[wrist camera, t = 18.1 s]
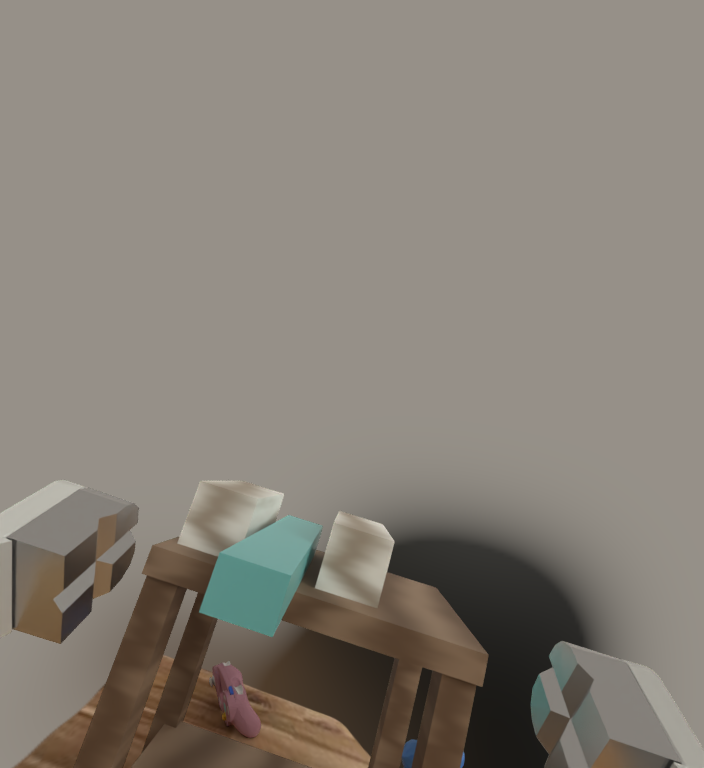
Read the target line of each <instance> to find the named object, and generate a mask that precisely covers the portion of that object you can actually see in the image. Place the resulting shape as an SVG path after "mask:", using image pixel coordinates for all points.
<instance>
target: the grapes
mask: <svg viewBox="0 0 704 768" xmlns="http://www.w3.org/2000/svg"><path fill="white" fill-rule="evenodd" d="M416 744H417V740H410V741H408V742H406V744H405V746H404V749H403V753H402V763H403V765H404V767H405V768H411V767H412V763H413V758H414V754H415V749H416ZM463 765H464V752H463V755H462V760H461V765H460V768H462V766H463Z"/></svg>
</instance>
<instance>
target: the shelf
mask: <svg viewBox="0 0 704 768" xmlns="http://www.w3.org/2000/svg"><path fill="white" fill-rule="evenodd" d="M283 497H284V494H283V493H280V492H277V491H273V490H270V489H267V488H264V487H260V486H257V485H254V484H251V483H248V482H245V481H200V483H199V486H198V489H197V492H196V494H195V497H194V500H193V502H192V505H191V508H190V510H189V513H188V516H187V519H186V521H185V524H184V526H183V529H182V532H181V535H180V537H176V538H173V539H171V540H167V541H164V542H161V543H158V544H155V545H153V546H152V548H151V551H150V553H149V556H148V559H147V561H146V564H145V566H144V569H143V572H142V574H145V575H147V577H146V579H145V582H144V585H143V588H142V590H141V593H140V595H139V598H138V600H137V603H136V606H135V608H134V611H133V614H132V617H131V619H130V621H129V624H128V627H127V629H126V632H125V635H124V637H123V640H122V643H121V645H120V648H119V650H118V653H117V655H116V658H115V661H114V663H113V666H112V669H111V671H110V674H109V677H108V679H107V682H106V684H105V687H104V690H103V692H102V695H101V697H100V700H99V703H98V705H97V708H96V711H95V713H94V716H93V718H92V721H91V724H90V726H89V729H88V731H87V734H86V737H85V739H84V742H83V745H82V747H81V750H80V752H79V755H78V758H77V760H76V763H75V766H74V768H123V766H124V763H125V760H126V757H127V754H128V752H129V749H130V746H131V743H132V740H133V738H134V735H135V732H136V729H137V726H138V724H139V721H140V718H141V715H142V712H143V710H144V707H145V704H146V701H147V699H148V696H149V693H150V690H151V687H152V685H153V682H154V679H155V676H156V673H157V671H158V668H159V665H160V662H161V659H162V657H163V654H164V651H165V648H166V645H167V643H168V640H169V637H170V634H171V631H172V629H173V626H174V623H175V620H176V618H177V615H178V612H179V609H180V606H181V603H182V601H183V598H184V595H185V592H186V590H187V589H190V590H193V591H196V592H198V594H197V597H196V600H195V603H194V606H193V608H192V612H191V614H190V617H189V620H188V623H187V625H186V628H185V631H184V634H183V637H182V640H181V642H180V646H179V648H178V651H177V654H176V657H175V660H174V662H173V665H172V668H171V671H170V674H169V677H168V679H167V682H166V685H165V688H164V691H163V694H162V697H161V699H160V702H159V705H158V708H157V711H156V714H155V716H154V719H153V722H152V725H151V728H150V731H149V734H148V736H147V739H146V742H145V745H144V748H143V751H142V753H141V755H140V756H139V758H138V759H137V760H136V761H135V763H134V764H133V765H132V767H131V768H311V767H308V766H306V765H303V764H300V763H297V762H294V761H292V760H289V759H286V758H283V757H280V756H278V755H275V754H272V753H269V752H266V751H264V750H261V749H258V748H255V747H252V746H250V745H247V744H244V743H241V742H238V741H235V740H233V739H230V738H227V737H224V736H221V735H219V734H216V733H213V732H210V731H207V730H205V729H202V728H199V727H196V726H193V725H191V724H188V723H185V722H183V720H184V717H185V714H186V711H187V708H188V705H189V703H190V700H191V697H192V694H193V691H194V688H195V685H196V682H197V679H198V676H199V673H200V670H201V666H202V664H203V661H204V658H205V655H206V652H207V649H208V646H209V643H210V640H211V637H212V634H213V631H214V628H215V625H216V622H217V618H214V617H211V616H208V615H205V614H202V613H199V610H200V608H201V605H202V602H203V599H204V596H205V593H206V590H207V587H208V585H209V582H210V579H211V576H212V573H213V570H214V567H215V564H216V561H217V559H218V556H219V553H220V552H221V551H223V550H225V549H227V548H229V547H231V546H232V545H234V544H236V543H238V542H240V541H242V540H244V539H245V538H247V537H249V536H251V535H253V534H255V533H256V532H258V531H260V530H262V529H264V528H266V527H268V526H269V525H271V524H273V523H275V522H276V519H277V516H278V512H279V509H280V506H281V503H282V500H283ZM393 545H394V540H393V539H392V537H391V536H390V534H389V533H388V531H387V530H386V528H385V527H384V526H383V525H382V524H380V523H377V522H373V521H370V520H367V519H364V518H361V517H357V516H354V515H351V514H348V513H344V512H341V511H339V513H338V515H337V517H336V519H335V521H334V524H333V528H332V531H331V534H330V538H329V542H328V545H327V548H326V552H322V551H318V550H316V552H315V555H314V557H313V559H312V561H311V563H310V565H309V567H308V569H307V570H306V572H305V574H304V576H303V578H302V580H301V582H300V584H299V586H298V588H297V590H296V592H295V594H294V596H293V598H292V600H291V602H290V604H289V606H288V608H287V610H286V612H285V614H284V616H283V617H282V619H281V620H283V621H286V622H289V623H292V624H295V625H298V626H301V627H304V628H307V629H310V630H313V631H316V632H319V633H322V634H325V635H328V636H331V637H334V638H337V639H340V640H343V641H346V642H349V643H352V644H355V645H358V646H361V647H364V648H367V649H370V650H373V651H376V652H379V653H382V654H385V655H388V656H391V657H394V658H395V659H394V663H393V668H392V672H391V676H390V680H389V684H388V688H387V692H386V697H385V701H384V705H383V709H382V713H381V717H380V722H379V726H378V730H377V734H376V738H375V742H374V746H373V751H372V755H371V759H370V763H369V767H368V768H399V767H400V762H401V758H402V753H403V749H404V745H405V740H406V735H407V730H408V727H409V722H410V718H411V714H412V709H413V704H414V700H415V696H416V691H417V687H418V682H419V678H420V674H421V669H422V667H424V668H427V669H430V670H433V672H432V677H431V681H430V686H429V690H428V695H427V699H426V704H425V708H424V713H423V717H422V722H421V727H420V731H419V735H418V740H417V744H416V749H415V754H414V758H413V763H412V767H411V768H460V765H461V760H462V755H463V750H464V745H465V740H466V735H467V730H468V725H469V720H470V715H471V709H472V704H473V700H474V695H475V689H476V685H478V686H483V681H484V675H485V671H486V666H487V660H488V654H487V653H486V651H485V650H484V649H483V647H482V646H481V645H480V643H479V642H478V641H477V640H476V638H475V637H474V636H473V635H472V633H471V632H470V631H469V629H468V628H467V627H466V625H465V624H464V623H463V622H462V620H461V619H460V618H459V616H458V615H457V614H456V613H455V611H454V610H453V609H452V608H451V606H450V605H449V604H448V602H447V601H446V600H445V599H444V597H443V596H442V595H441V593H440V592H439V591H438V590H437V588H435V587H432V586H428V585H425V584H422V583H419V582H416V581H413V580H410V579H406V578H403V577H400V576H397V575H394V574H391V573H387V569H388V565H389V561H390V557H391V553H392V549H393Z"/></svg>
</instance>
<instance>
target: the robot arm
mask: <svg viewBox="0 0 704 768" xmlns="http://www.w3.org/2000/svg"><path fill="white" fill-rule="evenodd" d="M138 510H139V508H138V507H137V506H136V505H135V504H134V503H131V502H128V501H126V500H123V499H120V498H117V497H114V496H111V495H108V494H106V493H103V492H100V491H97V490H94V489H91V488H86V487H84V486H81V485H78V484H75V483H73V482H70V481H67V480H60V481H55V482H53V483H51V484H49V485H48V486H46V487H44V488H43V489H41V490H39V491H38V492H36V493H34V494H32V495H31V496H29V497H27V498H25V499H24V500H22V501H20V502H19V503H17V504H15V505H13V506H12V507H10V508H8V509H7V510H5V511H3V512H2V513H0V638H1V637H3V636H5V635H7V634H9V633H11V632H12V629H14V630H18V631H21V632H24V633H27V634H30V635H33V636H37V637H40V638H43V639H46V640H49V641H53V642H56V643H59V644H61V643H62V642H63V641H64V640H65V639H66V638H67V636H69V635H70V634H71V632H72V631H73V630H74V629H75V628H76V627H77V626H78V625H79V624H80V623H81V622H82V621H83V620H84V619H85V618H86V617H87V616H88V615H89V614H90V612H91V610H92V600H93V599H94V598H96V597H98V596H101V595H104V594H106V593H108V592H110V591H111V590H112V589H113V588H114V587H115V586H116V585H117V583H118V582H119V581H120V580H121V579H122V577H123V575H124V574H125V572H126V570H127V569H128V567H129V565H130V563H131V560H132V557H133V554H134V551H135V542H136V541H135V539H134V537H133V535H132V534H131V532H130V529H131V528H132V527H133V526H135V525H136V524H137V523H138ZM549 657H550V660H551V663H552V667H553V668H551V669H549V670H547V671H544V672H542V673H540V674H539V676H538V678H537V680H536V682H535V684H534V686H533V690H532V699H531V714H532V721H533V725H534V730H535V734H536V737H537V738H538V739H539V741H540V742H541V744H542V745H543V746H544V747H545V749H546V750H547V752H548V753H549V757H548V759H547V762H546V764H545V768H704V749H703V747H702V746H701V744H700V742H699V741H698V739H697V737H696V736H695V734H694V733H693V731H692V729H691V728H690V726H689V724H688V723H687V721H686V720H685V718H684V716H683V715H682V713H681V711H680V710H679V708H678V707H677V705H676V703H675V702H674V700H673V698H672V697H671V695H670V693H669V692H668V690H667V689H666V687H665V685H664V684H663V682H662V680H661V679H660V677H659V676H658V675H657V674H656V673H655V672H654V671H653V670H652V669H651V668H649V667H646V666H643V665H640V664H636V663H633V662H630V661H626V660H623V659H617V658H614V657H611V656H608V655H605V654H602V653H599V652H596V651H592V650H589V649H586V648H583V647H579V646H576V645H573V644H570V643H567V642H563V641H561V642H559V643H558V644H556V645H555V646H554V648H553V650H552V652H551V653H550V655H549Z"/></svg>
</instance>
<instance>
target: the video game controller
mask: <svg viewBox="0 0 704 768" xmlns="http://www.w3.org/2000/svg"><path fill="white" fill-rule="evenodd" d="M209 683H210V685H211V687H213V685H214V686H215V687H216V691H217V696H218V701H219V705H220V709H221V711H223V713H224V714H222V719H223V721H225V722H226V725H227V727H228V726H230V725H232V724H233V726H234V727H235V728H236V729H237V730H238V731H239V732H240V733H241V734H242V735H244V736H246V737H249V738H252V737H256V736H257V735H258V733H259V731H260V728H261V722H260V719H259V717H258V716H257V714H256V713H255V712H254V710H253V709H252V707H251V706H250V704H249V701H248V698H247V695H246V691H245V688H244V686H243V680H242V675H241V672H240V671H239V670H238V669H237V668H235V667H233V666H232V665H231V664H230V661H229V662H227V663H221V664H218V665H216V666H214V667H213V677H212V679H211V677H210V680H209Z"/></svg>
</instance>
